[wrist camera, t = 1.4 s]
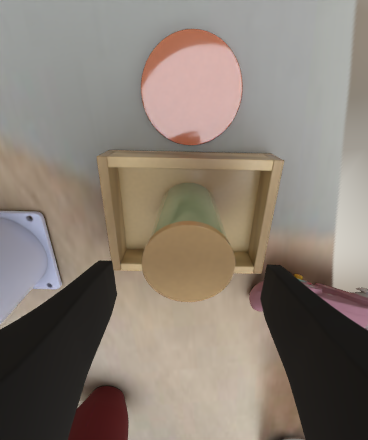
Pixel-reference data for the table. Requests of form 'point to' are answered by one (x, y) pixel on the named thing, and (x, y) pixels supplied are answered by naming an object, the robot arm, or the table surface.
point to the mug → (101, 416)
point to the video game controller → (328, 300)
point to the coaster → (191, 87)
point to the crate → (189, 173)
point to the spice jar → (188, 246)
